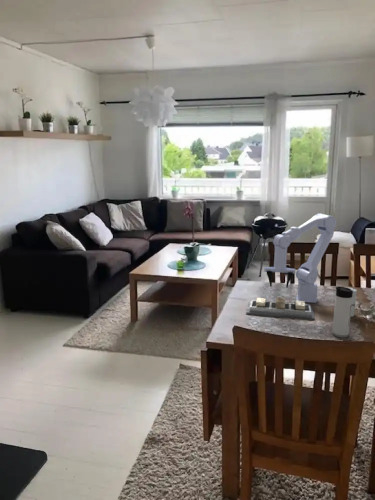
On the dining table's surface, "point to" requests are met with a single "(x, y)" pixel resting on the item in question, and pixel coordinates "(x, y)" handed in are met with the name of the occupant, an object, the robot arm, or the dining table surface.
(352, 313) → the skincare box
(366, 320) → the dining table surface
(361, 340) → the dining table surface
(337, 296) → the travel mug
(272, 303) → the rail
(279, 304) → the birch block
